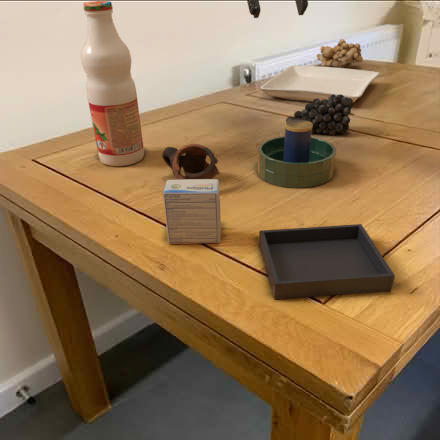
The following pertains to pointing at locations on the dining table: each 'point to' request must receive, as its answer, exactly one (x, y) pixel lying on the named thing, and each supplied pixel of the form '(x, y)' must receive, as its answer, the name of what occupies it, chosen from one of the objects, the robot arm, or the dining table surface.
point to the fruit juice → (111, 89)
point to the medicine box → (192, 211)
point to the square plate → (318, 83)
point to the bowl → (296, 164)
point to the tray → (323, 262)
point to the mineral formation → (340, 55)
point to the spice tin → (297, 141)
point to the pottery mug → (191, 161)
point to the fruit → (327, 114)
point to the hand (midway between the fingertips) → (280, 13)
